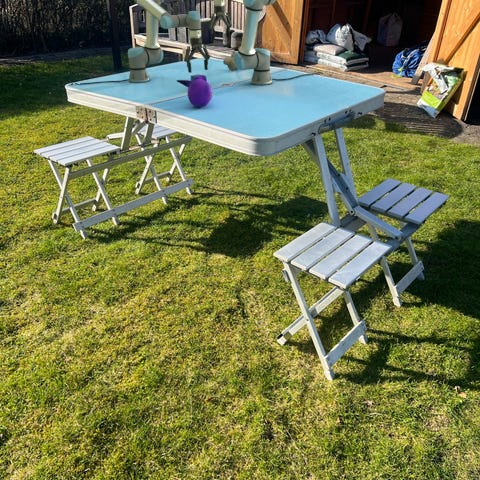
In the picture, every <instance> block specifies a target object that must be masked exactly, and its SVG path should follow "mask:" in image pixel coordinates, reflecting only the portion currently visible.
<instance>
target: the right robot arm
mask: <svg viewBox="0 0 480 480" xmlns="http://www.w3.org/2000/svg"><path fill="white" fill-rule="evenodd" d="M276 1H277V0H242V3H243V5H244V8H245V10H246V12H245V18H244V25H243V32H242V39H241V45H240V46H239V47H238V50H237V52H235V54H234V63H235V66H236V68H237V69H238V70H237V71H248V70H253V73H252V75H251V79H250V84H252V85H255V86H268V85H272V84H273V81H289V80H292V79H295V78H299V77H304V76H311V75H312V76H314V75H319V74H321V75H323V74H324V73H323V72H322V71H318V72H313V73H312V72H311V73H304V74H299V75H296V76H292V77H287V78H272V74H271V51H270V49H268V48H267V49H266V48H259V47H258V48H257V47H255V44H256V38H257V31H258V27H259V26H258V25H259V20H260V15H261V13H262V12H263V10H264V6H270V5H273V4H274V3H275V2H276ZM225 3H226V0H213V5H214V13H211V15H210V20H209V23H208V29H209V30H210V34H211V39H213V40H215V39H216V29H215V27H216V25H217V24H218V21H223V23H224V25H225V26H226V27H225V32H226V33H225V34H226V38H230V37H231V36H230V33H231V28H232V27H233V23H232V20H231V18H230V15H229V12H226V6H225V5H226V4H225Z"/></svg>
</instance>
